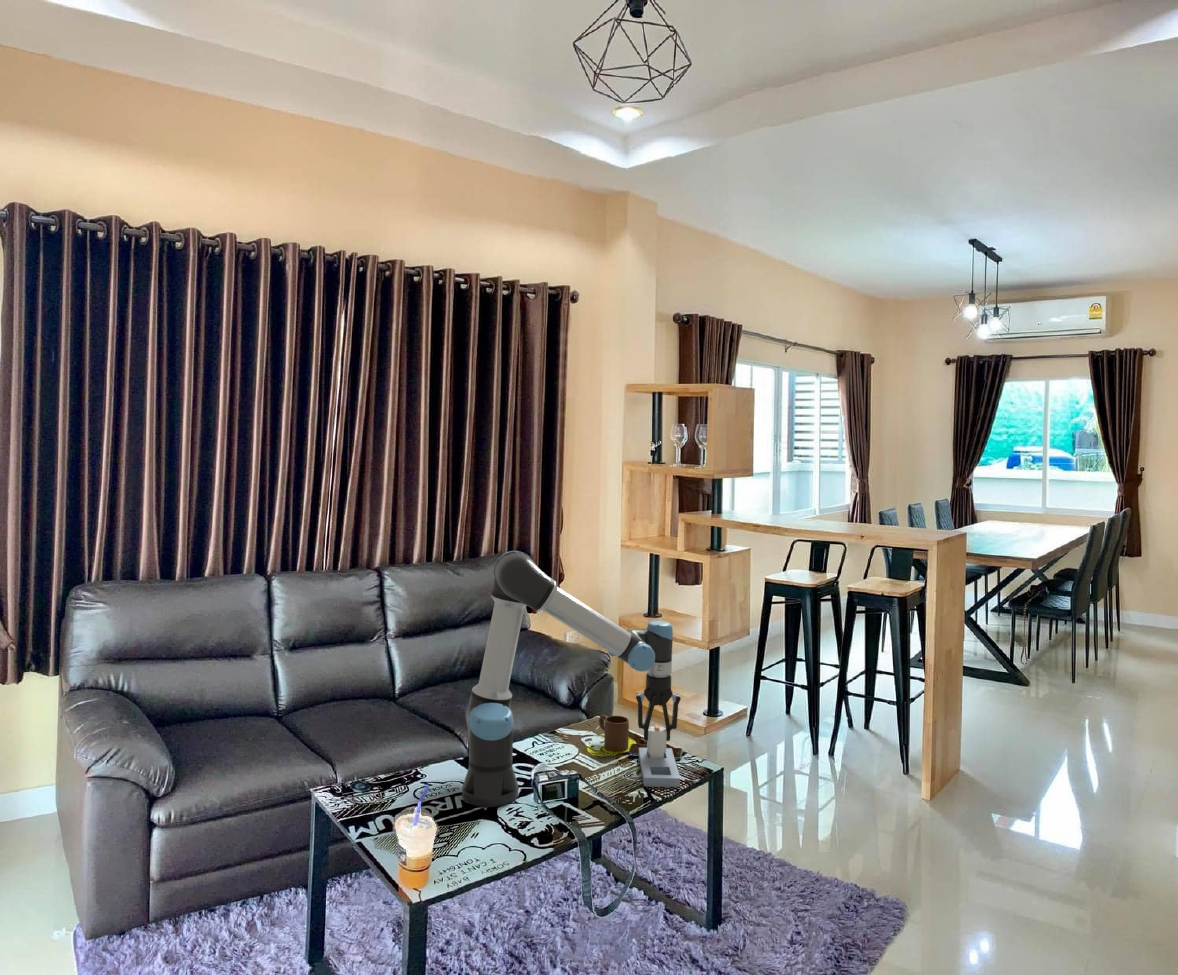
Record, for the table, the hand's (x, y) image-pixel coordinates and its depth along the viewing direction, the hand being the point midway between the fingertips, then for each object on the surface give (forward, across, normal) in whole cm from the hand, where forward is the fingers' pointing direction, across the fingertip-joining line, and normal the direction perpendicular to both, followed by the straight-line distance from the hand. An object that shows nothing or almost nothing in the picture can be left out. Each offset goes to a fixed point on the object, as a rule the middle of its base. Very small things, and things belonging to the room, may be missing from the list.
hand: (656, 750), depth 241 cm
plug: (+3, 0, 0) cm, 3 cm away
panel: (+4, 0, -6) cm, 7 cm away
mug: (+4, -13, +13) cm, 19 cm away
